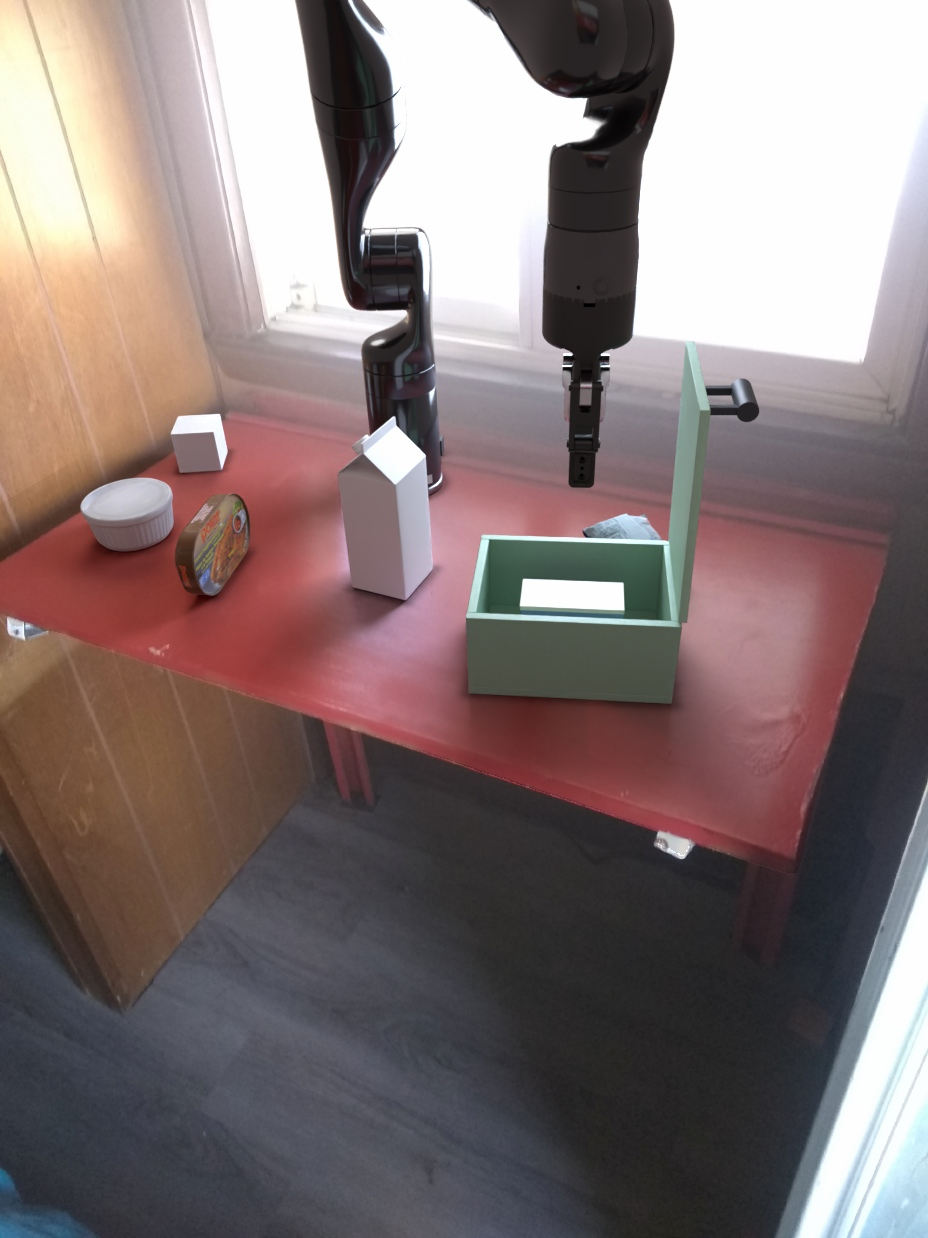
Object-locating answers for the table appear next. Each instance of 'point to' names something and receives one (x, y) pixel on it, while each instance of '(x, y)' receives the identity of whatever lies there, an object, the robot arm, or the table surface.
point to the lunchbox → (573, 622)
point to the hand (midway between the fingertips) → (581, 462)
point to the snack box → (572, 598)
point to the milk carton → (387, 513)
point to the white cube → (199, 443)
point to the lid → (696, 464)
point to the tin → (213, 544)
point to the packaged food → (623, 529)
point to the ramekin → (129, 513)
